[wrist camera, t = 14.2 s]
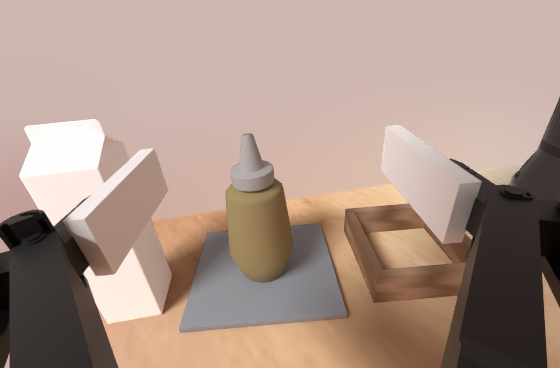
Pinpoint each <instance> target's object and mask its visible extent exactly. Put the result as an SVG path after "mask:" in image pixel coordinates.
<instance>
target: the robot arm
mask: <svg viewBox="0 0 560 368" xmlns="http://www.w3.org/2000/svg"><path fill="white" fill-rule="evenodd" d="M381 171H382V172H383V173H384V174H385V176H386V177H387V178H388V179H389V180H390V182H391V183H392V184H393V185H394V186H395V188H396V189H397V190H398V191H399V192H400V193H401V195H402V196H403V197H404V198H405V199H406V201H407V202H408V203H409V204H410V205H411V207H412V208H413V209H414V210H415V211H416V213H417V214H418V215H419V216H420V217H421V219H422V220H423V221H424V222H425V223H426V225H427V226H428V227H429V228H430V229H431V231H432V232H433V233H434V234H435V235H436V237H437V238H438V239H439V240H440V241H441V243H442V244H448V243H459V242H462V241H463V238H464V235H465V232H466V230H467V231H468V232H469V233H470V234H471V235H472V236H473V238H472V241H471V244H470V247H469V250H468V253H467V255H466V258H465V259H467V261H466V265H465V269H464V273H463V277H462V282H461V286H460V290H459V294H458V298H457V302H456V307H455V311H454V315H453V319H452V323H451V327H450V332H449V336H448V340H447V344H446V348H445V352H444V357H443V361H442V365H441V368H547V354H546V336H545V319H544V301H543V283H542V272H543V274H544V276H545V278H546V280H547V282H548V284H549V286H550V288H551V291H552V293H553V295H554V297H555V299H556V301H557V303H558V305H559V307H560V98H559V101H558V103H557V105H556V108H555V110H554V113H553V115H552V117H551V120H550V122H549V124H548V126H547V129H546V131H545V133H544V135H543V138H542V140H541V143H540V146H539V148H538V149H537V151H536V152H535V153H534V154H533V155H532V156H531V157H530V158H529V159H528V160H527V162H526V163H525V164H524V165H523V166H522V167H521V168H520V170H519V171H518V172H516V173H515V174H514V175H513V177H512V179H511V181H510V184H509V185H495V184H493V183H492V182H490V181H489V180H487V179H486V178H484V177H483V176H481V175H480V174H477V172H475V171H474V170H472V169H470V168H469V167H468V166H466V165H465V164H463V163H461V162H458V161H456V160H453V159H448V158H446V157H445V156H444V155H442V154H441V153H439V152H438V151H436V150H435V149H434V148H432V147H430V146H429V145H428V144H426V143H425V142H423V141H422V140H420V139H419V138H418V137H416V136H415V135H413V134H412V133H410V132H409V131H407V130H406V129H404V128H403V127H401V126H400V125H394V126H386V129H385V138H384V146H383V155H382V164H381ZM167 191H168V188H167V185H166V182H165V179H164V176H163V173H162V170H161V167H160V164H159V161H158V158H157V155H156V152H155V149H154V148H152V149H142V150H140V151H139V152H138V153H137V154H135V155H134V156H133V157H132V158H131V159H130V160H129V161H128V162H127V163H126V164H124V165H123V166H122V167H121V168H120V169H119V170H118V171H117V172H116V173H115V174H114V175H112V176H111V177H110V178H109V179H108V180H107V181H106V182H105V183H104V184H103V185H101V186H100V187H99V188H98V189H97V190H96V191H95V192H94V193H93V194H92V195H90V196H89V197H87V198H85V199H83V200H82V201H81V202H80V203H79V204H78V205H77V206H76V207H75V208H73V209H72V210H71V211H70V213H68V214H67V215H66V216H65V217H63V218H62V219H61V220H60V221H59V222H58V223H57V224H56V225H55V226H53V225H52V223H51V222H50V220H49V218H48V217H47V215H46V214H45V212H44V211H43V210H30V211H26V212H23V213H20V214H18V215H15V216H12V217H10V218H9V219H7V220H5V221H3V222H2V223H1V224H0V237H1V239H2V240H3V241H4V243H6V245H7V246H8V248H9V249H10V251H7V252H3V253H0V368H4V366H5V364H6V361H7V358H8V355H9V352H10V368H118V365H117V363H116V360H115V357H114V354H113V351H112V348H111V345H110V343H109V340H108V337H107V334H106V331H105V328H104V326H103V323H102V320H101V317H100V314H99V311H98V309H97V306H96V303H95V300H94V297H93V294H92V292H91V289H90V286H89V283H88V280H87V278H86V277H85V275H84V274H83V273H84V272H85V270H86V269H87V268H88V266H90V268H91V269H92V271H93V273H94V274H95V276H104V275H115V273H116V272H117V270H118V269H119V267H120V266H121V264H122V262H123V261H124V259H125V258H126V256H127V254H128V253H129V251H130V250H131V248H132V247H133V245H134V243H135V242H136V240H137V239H138V237H139V236H140V234H141V232H142V231H143V229H144V228H145V226H146V224H147V223H148V221H149V220H150V218H151V217H152V215H153V213H154V212H155V210H156V209H157V207H158V205H159V204H160V202H161V201H162V199H163V198H164V196H165V194H166V193H167Z"/></svg>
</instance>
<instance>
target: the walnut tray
mask: <svg viewBox="0 0 560 368" xmlns="http://www.w3.org/2000/svg"><path fill="white" fill-rule="evenodd" d="M415 228H424V229H425V230H426V231H427V232H428V233H429V234H430V236H431V237H432V238H433V239H434V240H435V242H436V243H437V244H438V245H439V246H440V248H441V249H442V250H443V251H444V252H445V253H446V255H447V256H448V257H449V258H450V259H451V261H452V262H453V263H454V264H443V265H431V266H420V267H409V268H397V269H386V270H384V269H383V267H382V265H381V264H380V262H379V260H378V258H377V256H376V254H375V252H374V250H373V248H372V246H371V244H370V242H369V240H368V238H367V236H366V234H365V233H369V232H380V231H392V230H403V229H415ZM344 231H345V233H346V236H347V238H348V241H349V243H350V245H351V248H352V250H353V253H354V255H355V258H356V260H357V262H358V265H359V267H360V270H361V272H362V274H363V277H364V279H365V282H366V284H367V287H368V289H369V291H370V294H371V296H372V299H373V301H374V303H376V302H387V301H398V300H409V299H421V298H432V297H443V296H454V295H458V294H459V290H460V286H461V282H462V277H463V273H464V269H465V265H466V261H467V259H465V258H466V255H467V253H468V250H469V247H470V244H471V241H472V240H471V239H470V238H469V237H468V236H467V235H466V234H465V235H464V238H463V241H462V242H459V243H448V244H442V243H441V241H440V240H439V239H438V238H437V237H436V235H435V234H434V233H433V232H432V231H431V229H430V228H429V227H428V226H427V225H426V223H425V222H424V221H423V220H422V219H421V217H420V216H419V215H418V214H417V213H416V211H415V210H414V209H413V208H412V207H411V205H410V204H399V205H387V206H375V207H364V208H352V209H345V226H344Z"/></svg>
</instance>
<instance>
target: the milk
mask: <svg viewBox="0 0 560 368" xmlns="http://www.w3.org/2000/svg"><path fill="white" fill-rule="evenodd" d="M25 132H26V134H27V136H28V137H29V140H30V142H31V143H32V145H31V147H30V150H29V152H28V155H27V157H26V160H25V162H24V165H23V167H22V170H21V173H20V178H21V180H22V182H23V183H24V185H25V187H26V188H27V190H28V192H29V193H30V195H31V197H32V198H33V200H34V202H35V203H36V205H37V207H38V208H39V210H43V211H44V212H45V214H46V215H47V217H48V218H49V220H50V222H51V223H52V225H53V226H55V225H56V224H57V223H58V222H59V221H60V220H61V219H62V218H63V217H65V216H66V215H67V214H68V213H70V211H71V210H72V209H73V208H75V207H76V206H77V205H78V204H79V203H80V202H81V201H82V200H83V199H85V198H87V197H89V196H90V195H92V194H93V193H94V192H95V191H96V190H97V189H98V188H99V187H100V186H101V185H103V184H104V183H105V182H106V181H107V180H108V179H109V178H110V177H111V176H112V175H114V174H115V173H116V172H117V171H118V170H119V169H120V168H121V167H122V166H123V165H124V164H126V163H127V162H128V161H129V157H128V154H127V152H126V149H125V146H124V144H123V143H122V142H120V141H117V140H115V139H112V138H110V137H107V136H105V134H104V131H103V129H102V126H101V124H100V122H99V121H98V120H96V119H91V120H81V121H72V122H61V123H52V124H42V125H33V126H26V127H25ZM83 274H84V275H85V277H86V278H87V280H88V283H89V286H90V289H91V292H92V294H93V297H94V300H95V303H96V305H97V306H98V308H99V310H100V311H101V313H102V314H103V316H104V318H105V319H106V321H107V323H108V324H112V323H117V322H123V321H128V320H134V319H140V318H145V317H151V316H156V315H161V314H162V313H163V309H164V305H165V301H166V297H167V293H168V290H169V286H170V282H171V278H172V274H171V271H170V268H169V266H168V263H167V260H166V257H165V255H164V252H163V249H162V247H161V244H160V241H159V238H158V236H157V233H156V230H155V228H154V225H153V222H152V219H151V218H150V220H149V221H148V223H147V224H146V226H145V228H144V229H143V231H142V232H141V234H140V236H139V237H138V239H137V240H136V242H135V243H134V245H133V247H132V248H131V250H130V251H129V253H128V254H127V256H126V258H125V259H124V261H123V262H122V264H121V266H120V267H119V269H118V270H117V272H116V273H115V275H104V276H95V274H94V273H93V271H92V269H91V268H90V266H88V268H87V269H86V270H85V272H84V273H83Z"/></svg>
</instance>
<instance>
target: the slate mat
mask: <svg viewBox="0 0 560 368" xmlns="http://www.w3.org/2000/svg"><path fill="white" fill-rule="evenodd" d="M290 227H291V233H292V238H293V243H294V245H293V248H292V252H291V255H290V257H289V260H288V263H287V265H286V268H285V271H284V272H283V273H282V274H281V275H280V276H279V277H278V278H276V279H274V280H272V281H268V282H262V283H261V282H255V281H252V280H250V279H248V278H247V277H246V276H245V275H244V274H243V272H242V271H241V270H240V268H239V267H238V265H237V264H236V263H235V261H234V260H233V258H232V257H231V255H230V248H229V235H228V231H225V232H214V233H207V236H206V240H205V243H204V246H203V250H202V253H201V256H200V260H199V263H198V267H197V270H196V273H195V277H194V280H193V284H192V287H191V290H190V294H189V297H188V301H187V304H186V307H185V311H184V314H183V318H182V321H181V324H180V328H179V330H180V333H181V332H192V331H203V330H215V329H226V328H237V327H248V326H259V325H270V324H281V323H292V322H303V321H314V320H325V319H337V318H347V311H346V308H345V305H344V301H343V298H342V295H341V291H340V288H339V285H338V281H337V278H336V275H335V271H334V268H333V265H332V261H331V258H330V255H329V251H328V248H327V245H326V241H325V238H324V235H323V231H322V228H321V225H320V223H318V224H307V225H295V226H290Z"/></svg>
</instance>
